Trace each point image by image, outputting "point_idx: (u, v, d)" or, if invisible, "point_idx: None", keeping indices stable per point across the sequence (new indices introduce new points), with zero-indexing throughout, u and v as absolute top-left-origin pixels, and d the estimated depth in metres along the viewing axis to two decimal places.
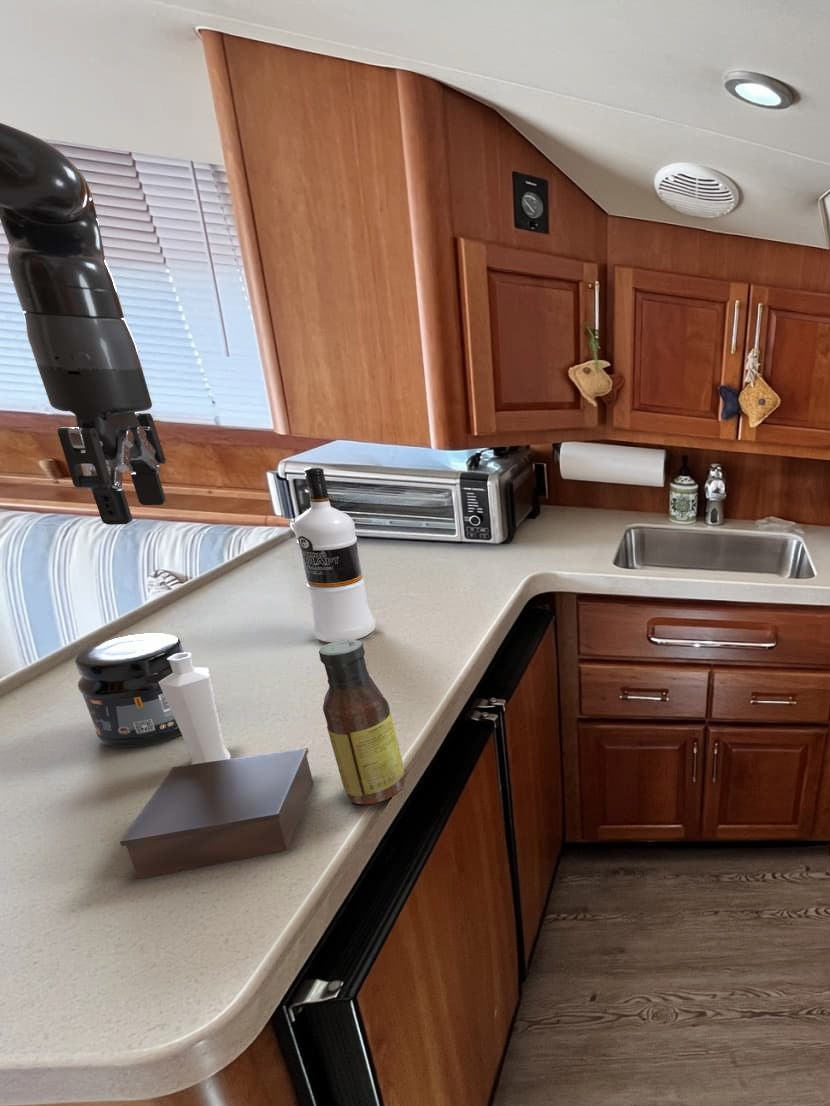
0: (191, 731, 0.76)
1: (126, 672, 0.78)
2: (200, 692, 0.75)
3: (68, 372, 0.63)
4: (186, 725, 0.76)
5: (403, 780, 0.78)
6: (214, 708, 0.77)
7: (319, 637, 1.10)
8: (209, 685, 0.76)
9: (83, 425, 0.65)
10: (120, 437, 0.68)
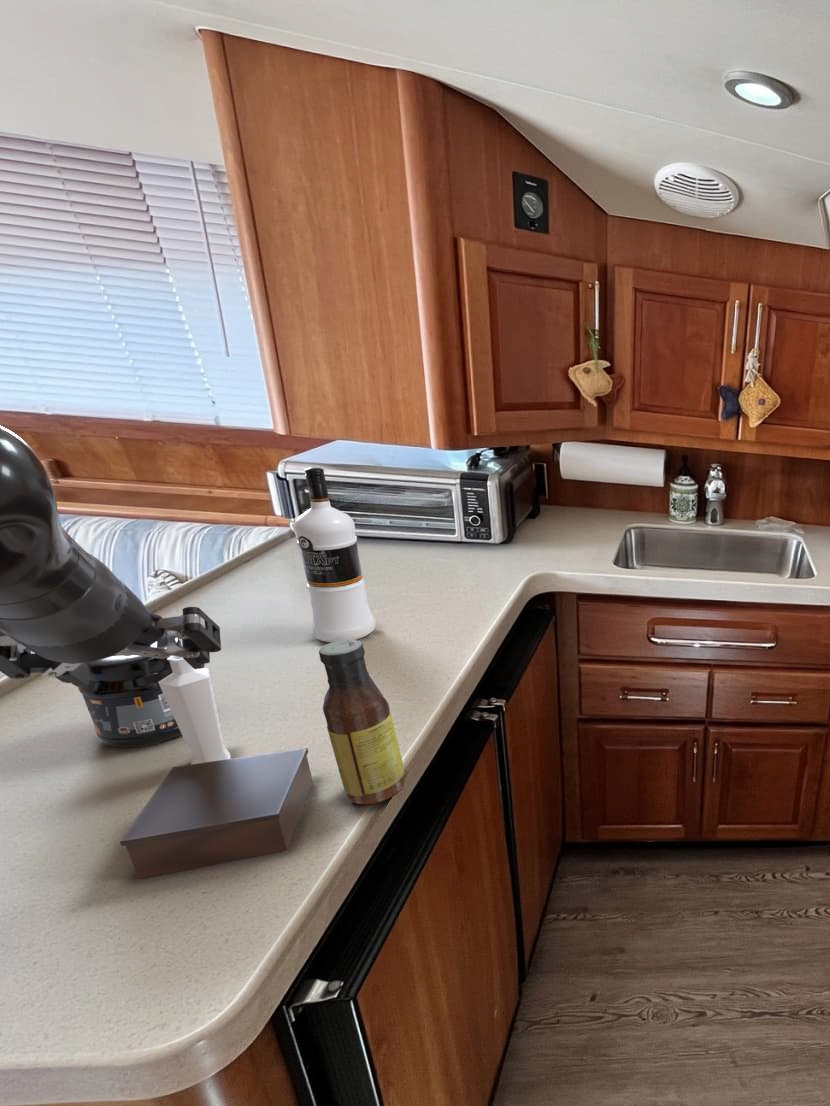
0: (191, 731, 0.76)
1: (126, 672, 0.78)
2: (200, 692, 0.75)
3: None
4: (186, 725, 0.76)
5: (403, 780, 0.78)
6: (214, 708, 0.77)
7: (319, 637, 1.10)
8: (209, 685, 0.76)
9: None
10: None
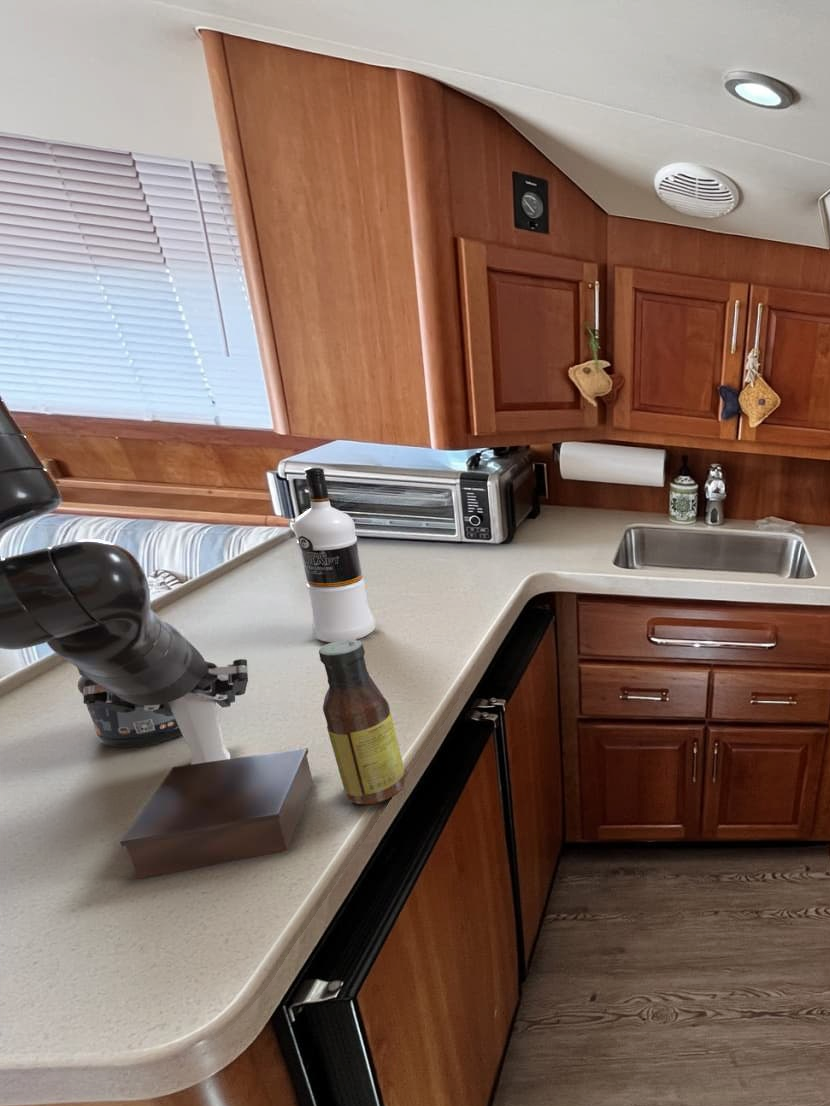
0: (191, 731, 0.76)
1: None
2: None
3: None
4: (186, 725, 0.76)
5: (403, 780, 0.78)
6: (214, 708, 0.77)
7: (319, 637, 1.10)
8: None
9: None
10: None
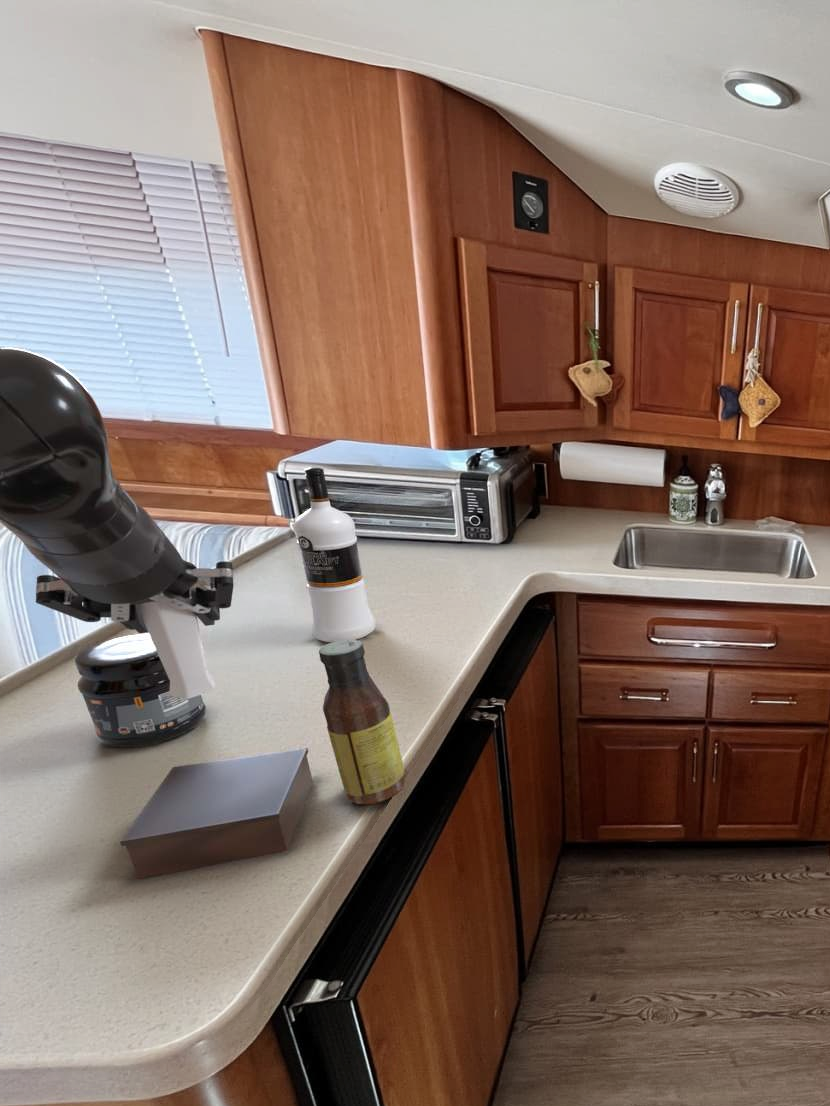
0: (168, 649, 0.65)
1: (126, 672, 0.78)
2: None
3: None
4: (163, 642, 0.65)
5: (403, 780, 0.78)
6: (196, 624, 0.67)
7: (319, 637, 1.10)
8: None
9: None
10: None
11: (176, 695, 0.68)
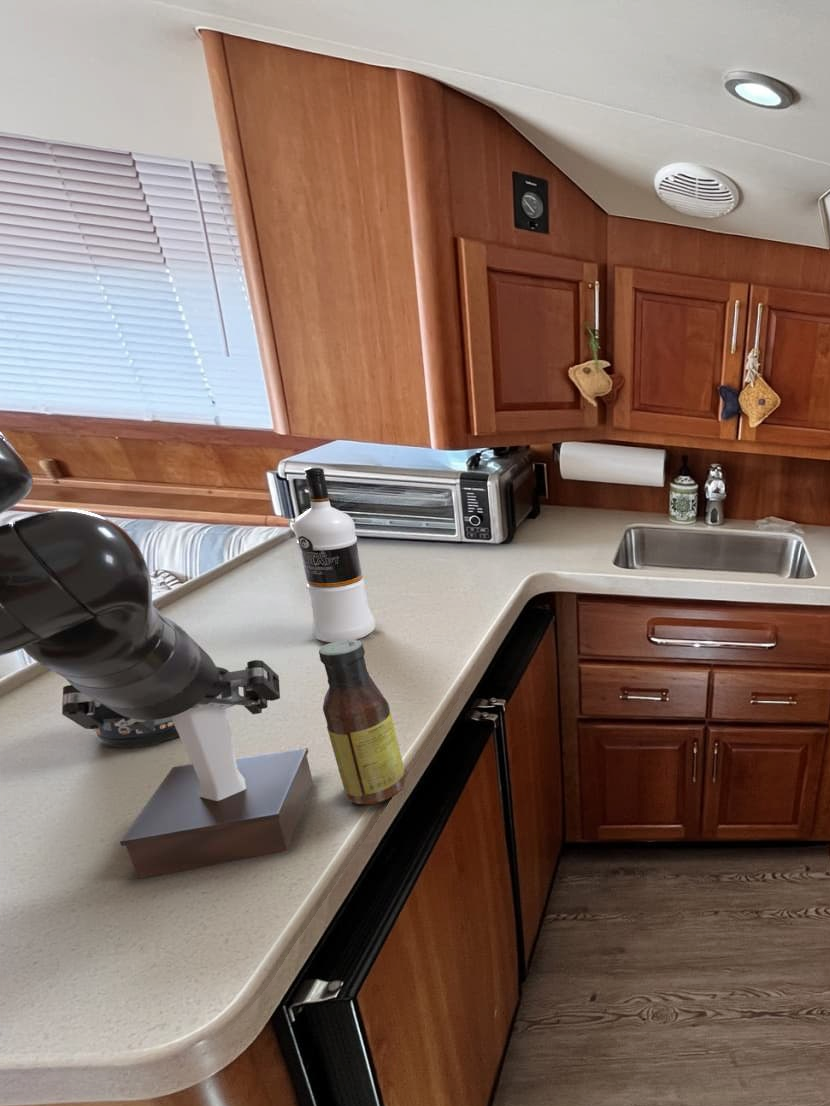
0: (200, 754, 0.65)
1: None
2: (211, 709, 0.64)
3: None
4: (195, 748, 0.65)
5: (403, 780, 0.78)
6: (227, 727, 0.66)
7: (319, 637, 1.10)
8: None
9: None
10: None
11: (207, 797, 0.67)
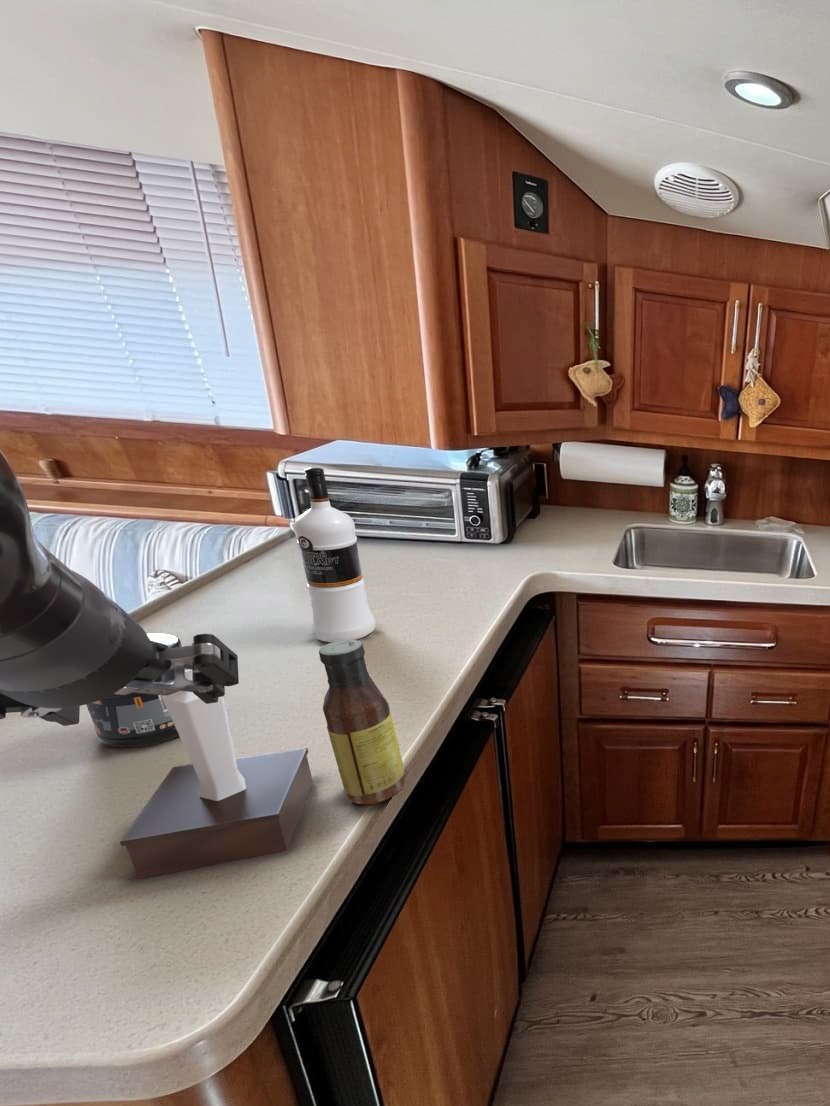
0: (200, 754, 0.65)
1: None
2: (211, 709, 0.64)
3: None
4: (195, 748, 0.65)
5: (403, 780, 0.78)
6: (227, 727, 0.66)
7: (319, 637, 1.10)
8: (222, 700, 0.65)
9: None
10: None
11: (207, 797, 0.67)
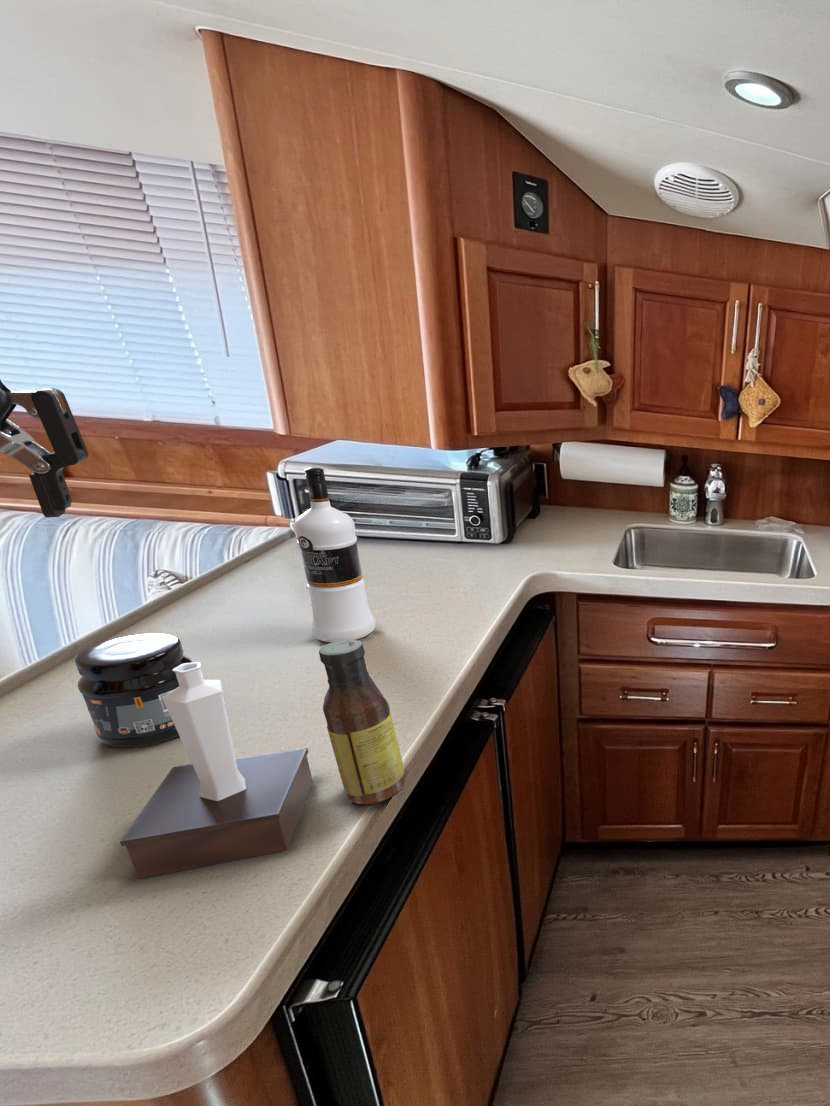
0: (200, 754, 0.65)
1: (126, 672, 0.78)
2: (211, 709, 0.64)
3: None
4: (195, 748, 0.65)
5: (403, 780, 0.78)
6: (227, 727, 0.66)
7: (319, 637, 1.10)
8: (222, 700, 0.65)
9: None
10: None
11: (207, 797, 0.67)
